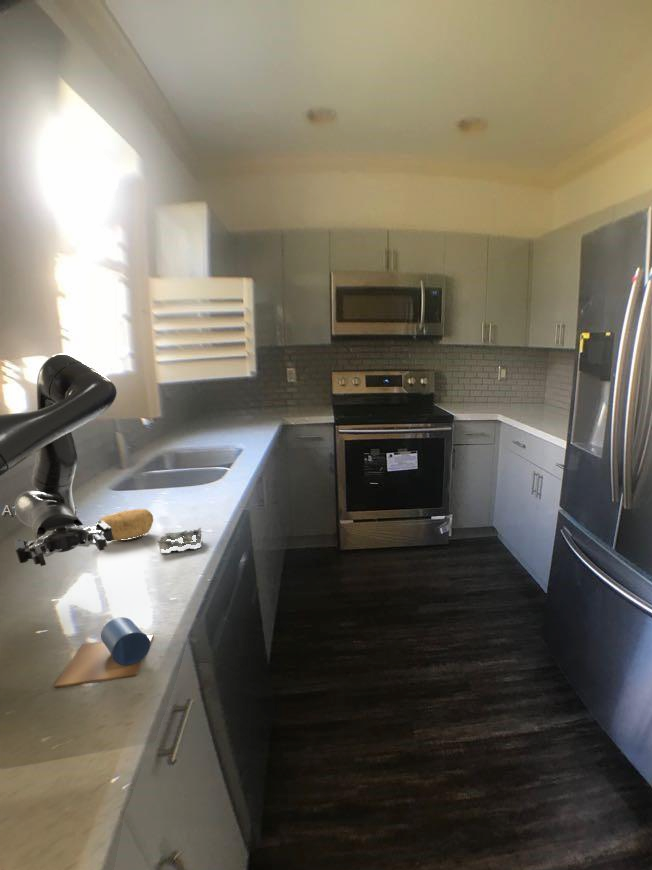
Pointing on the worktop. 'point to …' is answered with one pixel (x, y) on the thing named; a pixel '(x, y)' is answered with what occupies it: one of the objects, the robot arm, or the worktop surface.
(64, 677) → the mat
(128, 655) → the cap
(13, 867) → the worktop surface
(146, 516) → the potato
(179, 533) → the egg carton
